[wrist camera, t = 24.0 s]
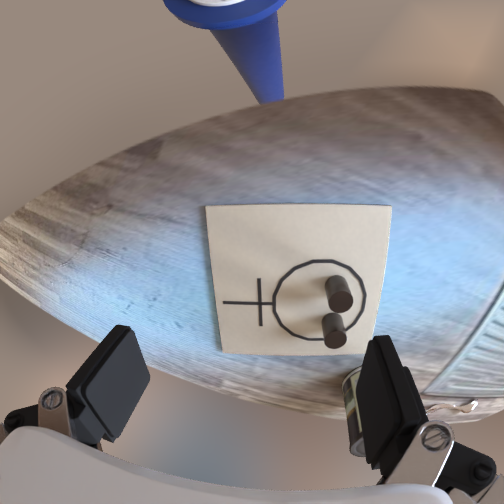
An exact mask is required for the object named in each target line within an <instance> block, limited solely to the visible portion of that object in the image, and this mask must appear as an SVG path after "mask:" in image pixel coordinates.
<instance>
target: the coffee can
mask: <svg viewBox="0 0 504 504" xmlns="http://www.w3.org/2000/svg"><path fill="white" fill-rule="evenodd" d="M361 368H362V366H361V367H359V368H357V369H355V370H354V371H352V372H351V373H350V374H349V375H348V376H347V377H346V378H345V379H344V381H343V383H342V391H343V396H344V402H345V409H346V416H347V423H348V432H349V440H350V453H351V454H353V455H355V456H358V457H366V455H365V448H364V441H363V434H362V428H361V422H360V416H359V410H358V404H357V399H356V385H357V382H358V379H359V375H360V372H361Z"/></svg>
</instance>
